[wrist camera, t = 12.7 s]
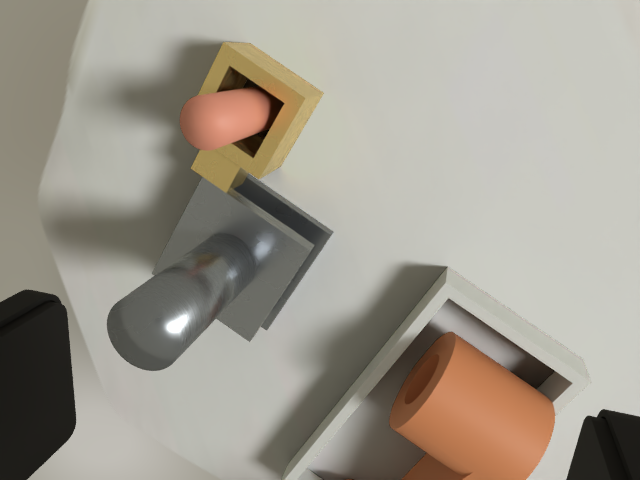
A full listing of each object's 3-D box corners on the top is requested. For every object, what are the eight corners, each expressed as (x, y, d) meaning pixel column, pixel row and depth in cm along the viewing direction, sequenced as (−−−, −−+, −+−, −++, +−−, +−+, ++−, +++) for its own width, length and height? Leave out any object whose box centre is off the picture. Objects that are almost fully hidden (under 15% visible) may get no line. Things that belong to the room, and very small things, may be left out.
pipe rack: (583, 359, 39) (591, 382, 37) (396, 540, 49) (391, 569, 46) (447, 266, 40) (445, 282, 37) (288, 463, 49) (277, 488, 46)
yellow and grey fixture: (394, 141, 38) (350, 191, 24) (270, 326, 45) (181, 446, 31) (250, 43, 38) (125, 38, 25) (149, 242, 46) (10, 324, 32)
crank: (457, 314, 41) (453, 371, 34) (546, 376, 41) (563, 446, 33) (320, 474, 49) (293, 548, 42) (394, 526, 49) (380, 610, 41)
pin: (287, 87, 39) (230, 98, 29) (285, 130, 40) (229, 153, 30) (247, 82, 39) (179, 92, 30) (246, 125, 40) (179, 147, 31)
